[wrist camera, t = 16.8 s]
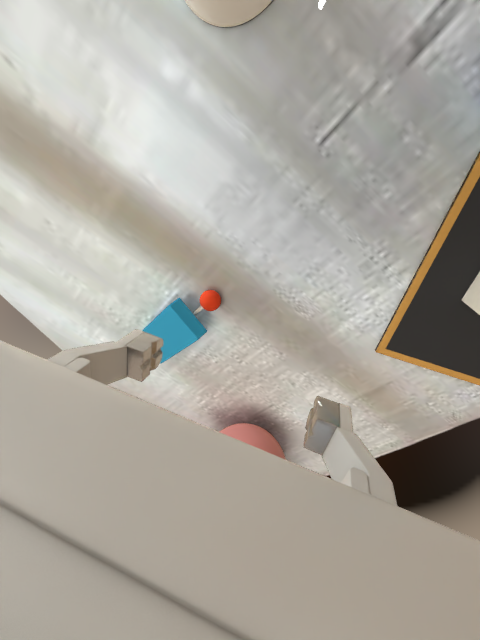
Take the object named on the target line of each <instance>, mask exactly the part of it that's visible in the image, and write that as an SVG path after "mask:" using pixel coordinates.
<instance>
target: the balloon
mask: <svg viewBox="0 0 480 640" xmlns="http://www.w3.org/2000/svg"><path fill="white" fill-rule="evenodd" d="M220 432H221V433H223V434H225V435H228V436H230V437H232V438H235V439H237V440H240V441H242V442H244V443H247V444H249V445H252V446H254V447H256V448H259V449H261V450H264V451H266V452H268V453H271V454H273V455H275V456H278V457H280V458H283V459H285V456H284V453H283V451H282V448H281V447H280V445H279V443H278V442H277V440H276V439H275V438H274V437H273V436H272V435H271V434H270V433H269V432H268V431H266V430H265V429H263V428H261V427H259V426H257V425H253V424H248V423H239V424H234V425H231V426H228V427H226V428H224V429H223V430H221V431H220ZM285 460H286V459H285Z"/></svg>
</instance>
